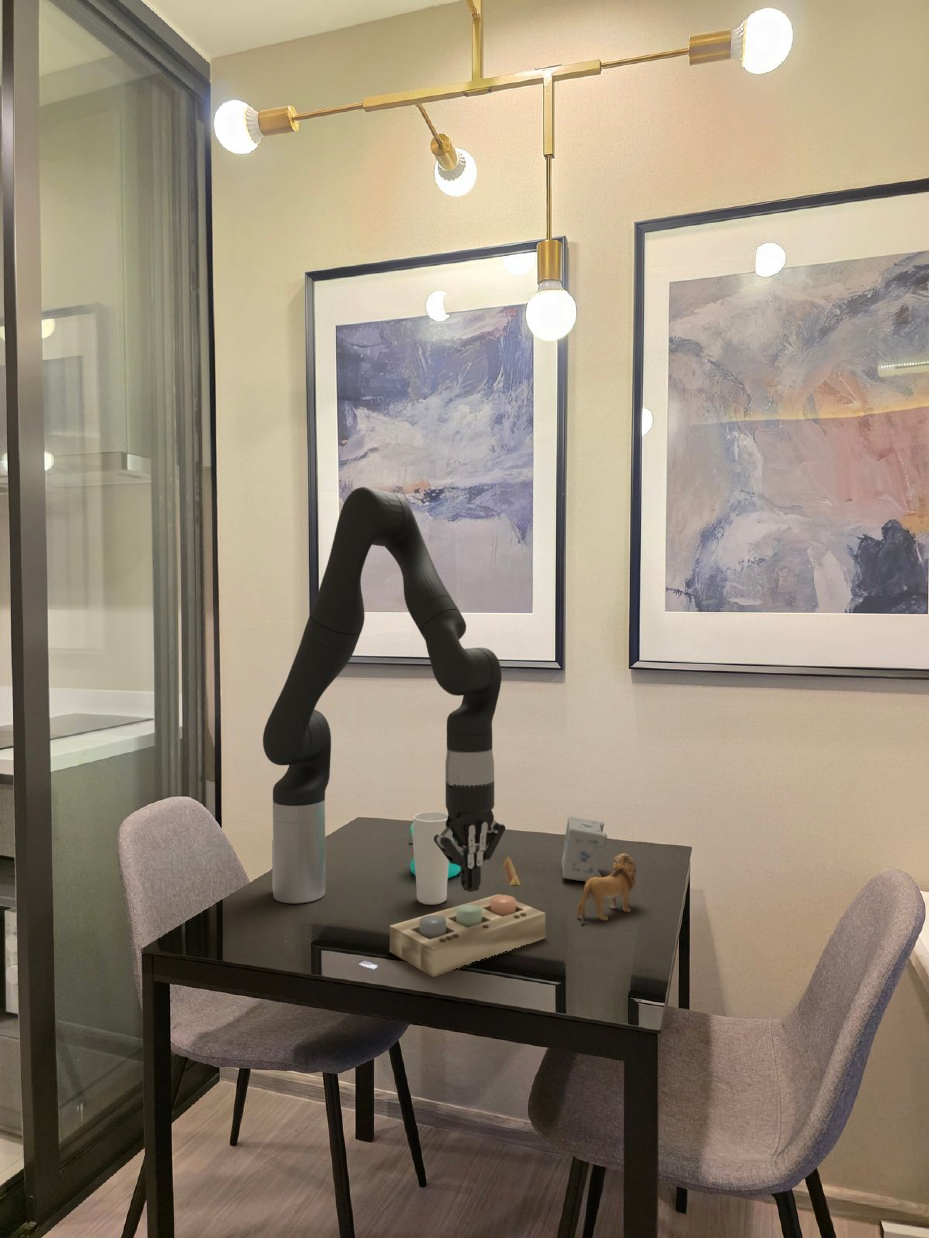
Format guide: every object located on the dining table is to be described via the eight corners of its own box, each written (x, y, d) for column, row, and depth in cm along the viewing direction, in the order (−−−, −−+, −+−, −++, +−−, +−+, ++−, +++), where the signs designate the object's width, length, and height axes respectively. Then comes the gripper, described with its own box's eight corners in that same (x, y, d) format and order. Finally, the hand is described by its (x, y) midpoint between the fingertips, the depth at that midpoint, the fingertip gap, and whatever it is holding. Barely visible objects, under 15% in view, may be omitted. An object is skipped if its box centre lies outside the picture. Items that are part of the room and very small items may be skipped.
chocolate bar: (508, 887, 159) (508, 875, 159) (501, 866, 171) (501, 855, 171) (521, 886, 159) (521, 874, 159) (514, 866, 171) (514, 855, 171)
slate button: (414, 939, 127) (414, 919, 127) (435, 932, 130) (435, 913, 130) (430, 947, 124) (430, 927, 124) (451, 940, 127) (451, 921, 127)
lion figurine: (617, 898, 152) (617, 848, 152) (643, 905, 148) (643, 854, 148) (568, 921, 141) (569, 867, 141) (595, 930, 138) (596, 874, 137)
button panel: (389, 951, 129) (389, 924, 129) (499, 917, 143) (499, 892, 143) (433, 977, 120) (433, 947, 120) (545, 938, 134) (545, 911, 134)
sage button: (450, 927, 132) (450, 908, 132) (470, 921, 134) (470, 902, 134) (467, 935, 129) (467, 916, 129) (487, 929, 131) (487, 910, 131)
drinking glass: (417, 909, 147) (417, 822, 146) (409, 895, 153) (409, 812, 153) (455, 905, 148) (455, 819, 148) (445, 892, 155) (445, 810, 154)
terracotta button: (485, 917, 136) (485, 898, 136) (504, 911, 139) (504, 893, 139) (502, 924, 133) (502, 905, 133) (520, 918, 136) (520, 900, 136)
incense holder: (607, 885, 159) (607, 830, 159) (562, 884, 160) (562, 829, 159) (603, 868, 169) (603, 816, 168) (561, 867, 169) (561, 815, 169)
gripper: (486, 768, 138) (487, 875, 138) (420, 780, 130) (421, 893, 130) (518, 775, 132) (518, 886, 133) (451, 788, 124) (452, 906, 124)
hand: (470, 889), depth 131 cm, fingers closed
